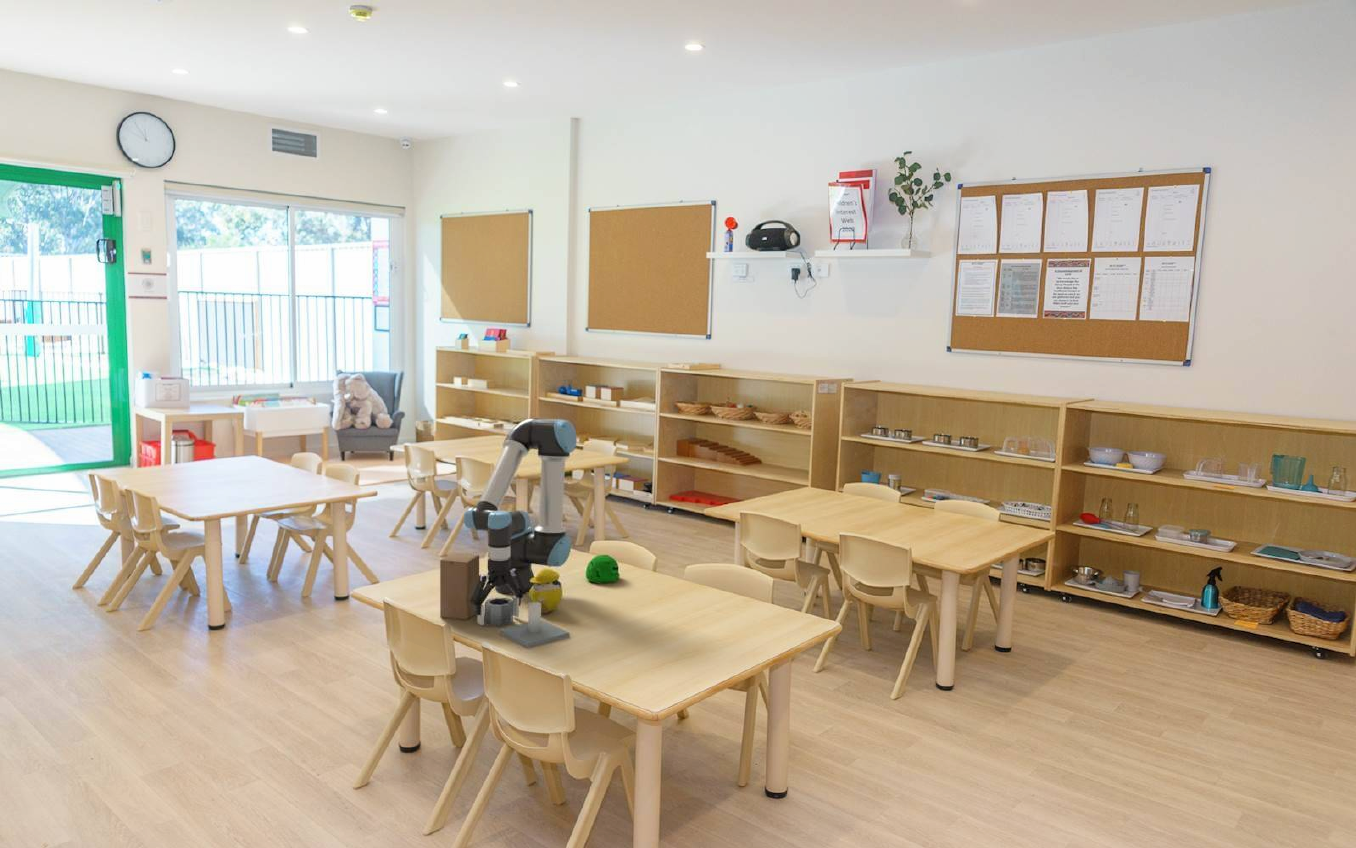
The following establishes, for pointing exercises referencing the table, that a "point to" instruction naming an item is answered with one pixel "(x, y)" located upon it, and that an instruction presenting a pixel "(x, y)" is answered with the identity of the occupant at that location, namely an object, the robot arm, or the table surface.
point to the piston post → (534, 630)
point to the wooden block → (458, 585)
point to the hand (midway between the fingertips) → (498, 620)
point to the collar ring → (498, 612)
